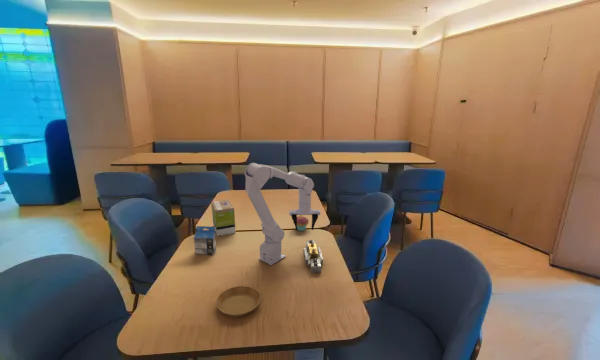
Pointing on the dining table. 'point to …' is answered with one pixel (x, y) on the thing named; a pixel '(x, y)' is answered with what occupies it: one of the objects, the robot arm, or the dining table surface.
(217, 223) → the tea box
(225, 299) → the plant saucer
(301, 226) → the cupcake
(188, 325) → the dining table surface
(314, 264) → the chain
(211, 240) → the blue and white carton
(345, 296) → the dining table surface
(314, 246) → the brass link
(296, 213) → the robot arm
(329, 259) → the dining table surface
